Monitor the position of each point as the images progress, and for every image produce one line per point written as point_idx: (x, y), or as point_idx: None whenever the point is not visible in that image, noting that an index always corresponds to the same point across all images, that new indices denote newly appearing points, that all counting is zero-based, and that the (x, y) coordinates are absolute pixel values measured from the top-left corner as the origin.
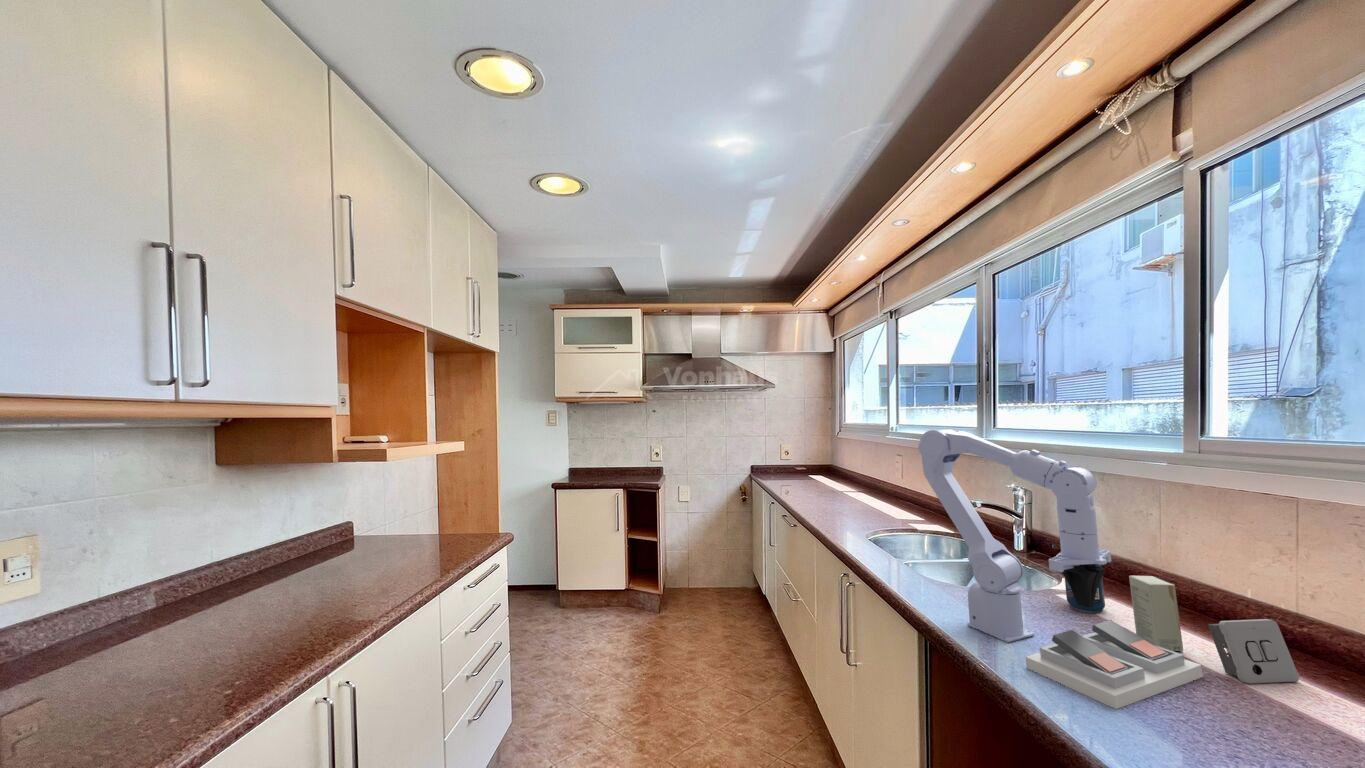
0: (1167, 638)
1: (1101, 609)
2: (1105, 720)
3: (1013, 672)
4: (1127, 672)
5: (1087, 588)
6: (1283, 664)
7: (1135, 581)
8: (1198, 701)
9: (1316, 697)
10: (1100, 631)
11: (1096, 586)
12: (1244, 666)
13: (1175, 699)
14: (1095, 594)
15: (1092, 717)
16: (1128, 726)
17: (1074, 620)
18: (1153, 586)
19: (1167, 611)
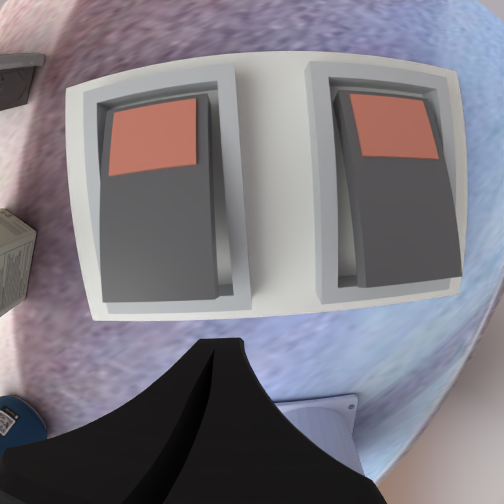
0: (1, 226)
1: (9, 396)
2: (483, 76)
3: (477, 277)
4: (385, 70)
5: (275, 406)
6: None
7: None
8: (227, 16)
9: (17, 15)
10: (214, 267)
11: (147, 403)
12: (19, 53)
13: (270, 35)
14: (171, 369)
15: (493, 93)
16: (464, 46)
17: (81, 407)
18: None
19: None
